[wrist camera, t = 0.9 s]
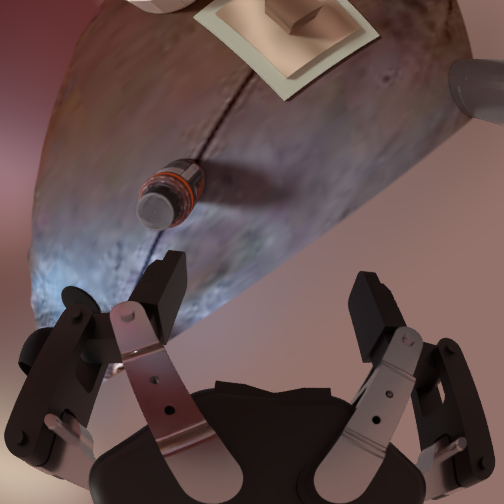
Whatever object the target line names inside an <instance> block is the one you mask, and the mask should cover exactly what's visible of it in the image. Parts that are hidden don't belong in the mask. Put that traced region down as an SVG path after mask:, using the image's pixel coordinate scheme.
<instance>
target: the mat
mask: <svg viewBox="0 0 504 504" xmlns="http://www.w3.org/2000/svg"><path fill="white" fill-rule="evenodd" d="M231 1H232V0H214V1H213V2H211V3H210V4H209V5H208V6H206V7H205V8H204V9H202V10H201V11H200V12H199V13H198V14H196V15H195V16H194V17H193V18H194V19H195V20H197V21H198V22H199V23H201V24H202V25H203V26H204V27H206V28H207V29H208V30H209V31H211V32H212V33H213V34H214V35H215V36H217V37H218V38H219V39H220V40H221V41H223V42H224V43H225V44H226V45H227V46H228V47H229V48H231V49H232V50H233V51H234V52H235V53H236V54H237V55H238V56H239V57H241V58H242V59H243V60H244V61H245V62H246V63H247V64H248V65H249V66H250V67H251V68H252V69H253V70H254V71H255V72H256V73H257V74H258V75H259V76H260V77H261V78H262V79H263V80H264V81H265V82H266V83H267V84H268V85H269V86H270V87H271V88H272V89H273V90H274V91H275V92H276V93H277V94H278V95H279V96H280V97H281V98H282V99H283V100H284V101H285V100H287V99H288V98H289V97H290V96H292V95H293V94H294V93H296V92H297V91H298V90H300V89H301V88H302V87H304V86H305V85H306V84H308V83H309V82H310V81H312V80H313V79H314V78H316V77H317V76H319V75H320V74H321V73H323V72H324V71H326V70H327V69H328V68H330V67H331V66H333V65H334V64H336V63H337V62H339V61H340V60H342V59H343V58H345V57H346V56H348V55H349V54H351V53H352V52H354V51H356V50H357V49H359V48H360V47H362V46H363V45H365V44H367V43H368V42H370V41H372V40H373V39H375V38H377V37H378V36H379V34H378V33H377V32H376V31H375V30H374V28H373V27H372V26H371V25H370V24H369V23H368V22H367V20H366V19H365V18H364V17H363V16H362V15H361V14H360V13H359V12H358V11H357V10H356V9H355V8H354V7H353V6H352V5H351V4H350V3H349V2H348V1H347V0H335V1H336V2H337V3H338V4H339V5H340V6H341V7H342V8H343V9H344V10H345V11H346V12H347V13H348V14H349V15H350V16H351V17H352V18H353V20H354V21H355V22H356V23H357V24H358V25H359V26H360V27H361V29H359V30H358V31H356V32H354V33H353V34H351V35H349V36H348V37H346V38H344V39H343V40H341V41H340V42H338V43H336V44H335V45H333V46H332V47H330V48H329V49H327V50H326V51H324V52H323V53H321V54H320V55H318V56H317V57H315V58H314V59H312V60H311V61H310V62H308V63H307V64H305V65H304V66H303V67H301V68H300V69H298V70H297V71H296V72H294V73H293V74H292V75H290V76H289V77H288V78H285V77H284V76H283V75H282V74H281V73H280V72H279V71H278V70H277V69H276V68H275V67H274V66H273V65H272V64H271V63H270V62H269V61H268V60H267V59H266V58H265V57H264V56H263V55H262V54H260V53H259V52H258V51H257V50H256V49H255V48H254V47H253V46H252V45H251V44H250V43H249V42H247V41H246V40H245V39H244V38H243V37H242V36H241V35H239V34H238V33H237V32H236V31H235V30H234V29H232V28H231V27H230V26H229V25H228V24H226V23H225V22H224V21H223V20H221V19H220V18H219V17H218V16H216V14H215V13H216V12H217V11H218V10H220V9H221V8H222V7H224V6H225V5H226V4H228V3H229V2H231Z"/></svg>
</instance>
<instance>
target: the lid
mask: <svg viewBox="0 0 504 504" xmlns="http://www.w3.org/2000/svg"><path fill="white" fill-rule="evenodd" d="M215 14H216V16H218V17H219V18H220V19H221V20H223V21H224V22H225V23H226V24H228V25H229V26H230V27H231V28H232V29H234V30H235V31H236V32H237V33H238V34H239V35H241V36H242V37H243V38H244V39H245V40H246V41H247V42H249V43H250V44H251V45H252V46H253V47H254V48H255V49H256V50H257V51H258V52H259V53H260V54H262V55H263V56H264V57H265V58H266V59H267V60H268V61H269V62H270V63H271V64H272V65H273V66H274V67H275V68H276V69H277V70H278V71H279V72H280V73H281V74H282V75H283V76H284V77H285V78H288V77H289V76H290V75H292V74H293V73H294V72H296V71H297V70H298V69H300V68H301V67H303V66H304V65H305V64H307V63H308V62H310V61H311V60H312V59H314V58H315V57H317V56H318V55H320V54H321V53H323V52H324V51H326V50H327V49H329V48H330V47H332V46H333V45H335V44H336V43H338V42H340V41H341V40H343V39H344V38H346V37H348V36H349V35H351V34H353V33H354V32H356V31H358V30H359V29H361V27H360V26H359V25H358V24H357V23H356V22H355V21H354V20H353V18H352V17H351V16H350V15H349V14H348V13H347V12H346V11H345V10H344V9H343V8H342V7H341V6H340V5H339V4H338V3H337V2H336V1H335V0H232V1H231V2H229V3H228V4H226V5H225V6H224V7H222V8H221V9H220V10H218V11H217V12H216V13H215Z"/></svg>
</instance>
